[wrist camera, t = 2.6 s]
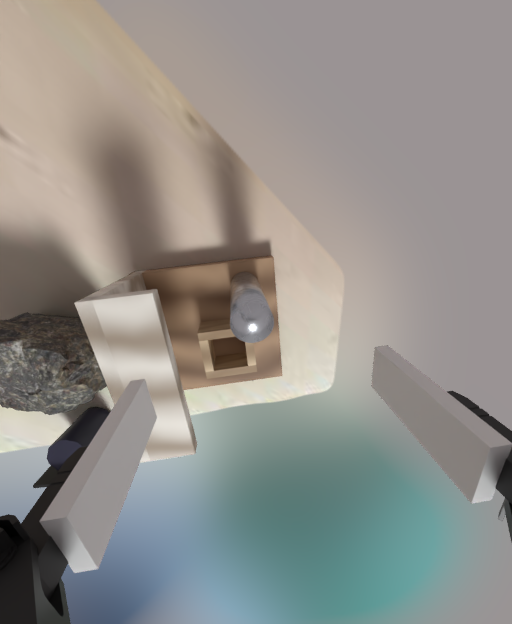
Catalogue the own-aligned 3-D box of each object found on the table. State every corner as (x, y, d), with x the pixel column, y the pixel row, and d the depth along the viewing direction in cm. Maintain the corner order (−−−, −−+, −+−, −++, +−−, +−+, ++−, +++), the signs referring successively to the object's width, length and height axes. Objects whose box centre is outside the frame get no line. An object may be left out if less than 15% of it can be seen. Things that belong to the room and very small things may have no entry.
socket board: (134, 271, 34) (71, 303, 21) (271, 255, 35) (295, 275, 22) (166, 385, 42) (135, 463, 28) (280, 369, 43) (302, 436, 29)
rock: (127, 298, 33) (-14, 269, 28) (88, 397, 25) (-114, 379, 20) (130, 354, 46) (36, 340, 42) (106, 428, 39) (-12, 421, 34)
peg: (228, 273, 34) (227, 305, 21) (256, 270, 34) (272, 299, 21) (232, 300, 35) (233, 345, 22) (259, 296, 35) (275, 339, 22)
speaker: (111, 442, 44) (75, 497, 34) (79, 435, 44) (32, 490, 34) (120, 408, 43) (85, 455, 33) (86, 400, 42) (40, 446, 32)
